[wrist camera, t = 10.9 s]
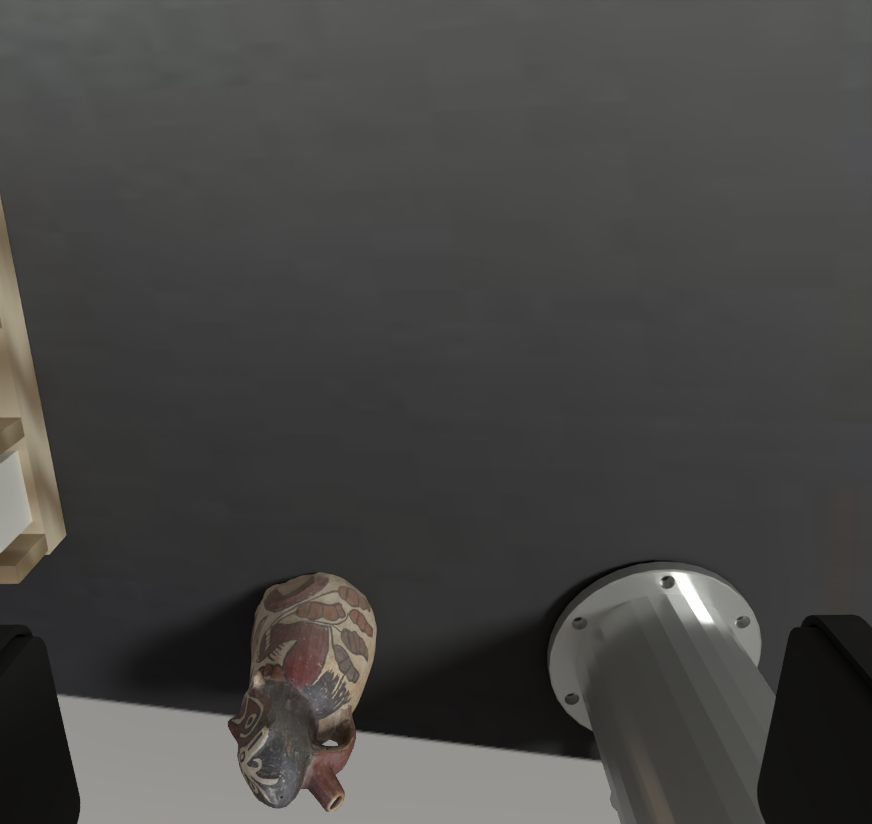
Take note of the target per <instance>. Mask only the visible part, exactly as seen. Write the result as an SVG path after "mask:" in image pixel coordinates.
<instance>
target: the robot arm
mask: <svg viewBox="0 0 872 824" xmlns="http://www.w3.org/2000/svg"><path fill="white" fill-rule="evenodd" d="M760 653H761V636H760V629H759V625H758V623H757V620H756V618H755V615H754V613H753V611H752V609H751V608H750V606H749V605H748V603H747V602H746V601H745V599H744V598H743V596H742V595H741V594H740V593H739V592H738V591H737V590H736V589H735V588H734V586H733V585H732V584H731V583H729V582H728V581H726V580H725V579H723V578H722V577H720V576H719V575H717V574H716V573H713V572H711V571H709V570H706V569H704V568H701V567H699V566H695V565H690V564H685V563H680V562H651V563H644V564H637V565H634V566H630V567H627V568H623V569H620V570H617V571H615V572H613V573H611V574H609V575H607V576H604V577H602V578H600V579H598V580H597V581H595V582H594V583H593V584H591V585H590V586H588V587H587V588H585V589H584V590H582V591H581V592H580V593H579V594H578V595H577V596H576V597H575V598H574V599H573V600H572V601H571V602H570V603H569V604H568V605H567V607H566V608H565V610H564V611H563V612H562V614H561V615H560V617H559V618H558V620H557V622H556V624H555V626H554V629H553V631H552V633H551V636H550V640H549V645H548V650H547V665H548V672H549V676H550V680H551V685H552V687H553V690H554V692H555V695H556V697H557V700H558V701H559V702H560V704H561V705H562V707H563V708H564V709H565V711H566V712H567V713H568V714H569V715H570V716H571V717H572V718H573V719H574V720H576V721H577V722H578V723H579V724H580V725H582V726H584V727H586V728H587V729H589V730H591V731H593V733H594V736H595V740H596V743H597V746H598V750H599V753H600V756H601V760H602V763H603V766H604V770H605V773H606V776H607V780H608V783H609V786H610V789H611V797H610V801H611V804H612V806H613V808H615V810H616V811H617V812H618V816H619V819H620V823H621V824H872V627H871V626H870V625H869V624H868V623H867V622H866V621H865V620H863V619H862V618H861V617H860V616H856V615H811V616H808V617H806V618H805V620H804V621H803V622H802V625H801V627H796V628H793V629H792V631H791V632H790V635H789V638H788V642H787V647H786V652H785V656H784V661H783V666H782V671H781V675H780V680H779V685H778V690H777V694H776V696H775V695H774V693H773V692H772V690H771V689H770V687H769V686H768V684H767V683H766V681H765V679H764V678H763V676H762V675H761V673H760V672H759V670H758V669H757V667H758V664H759V661H760ZM79 813H80V796H79V791H78V787H77V782H76V778H75V773H74V769H73V765H72V760H71V756H70V751H69V747H68V742H67V739H66V734H65V730H64V725H63V721H62V716H61V712H60V707H59V703H58V698H57V694H56V689H55V685H54V680H53V676H52V672H51V667H50V663H49V658H48V654H47V649H46V646H45V643H44V641H43V640H42V639H41V638H40V637H33V635H32V633H31V631H30V629H29V628H28V627H27V626H24V625H0V824H77V822H78V818H79Z"/></svg>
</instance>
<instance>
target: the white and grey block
mask: <svg viewBox="0 0 872 824" xmlns="http://www.w3.org/2000/svg"><path fill="white" fill-rule="evenodd" d="M31 522H32V517H31V512H30V507H29V502H28V498H27V493H26V488H25V484H24V479H23V474H22V470H21V465H20V460H19V456H18V451H17V450H6V451H5V452H4V453H2V454H1V455H0V553H1V552H2V551H3V550H4V549H5V548H6V547H7V546H8V545H9V544H10V543H11V542H12V541H13V540H14V539H15V538H16V537H17V536H18V535H19V534H20V533H21V532H22V531H23V530H24V529H25V528H26V527H27V526H28V525H29V524H30V523H31Z"/></svg>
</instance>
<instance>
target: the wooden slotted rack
mask: <svg viewBox="0 0 872 824" xmlns="http://www.w3.org/2000/svg"><path fill="white" fill-rule="evenodd" d="M6 450H17V451H18V456H19V460H20V465H21V470H22V474H23V479H24V484H25V488H26V493H27V498H28V502H29V507H30V512H31V517H32V522H31V523H30V524H29V525H28V526H27V527H26V528H25V529H24V530H23V531H22V532H21V533H20V534H19V535H18V536H17V537H16V538H15V539H14V540H13V541H12V542H11V543H10V544H9V545H8V546H7V547H6V548H5V549H4V550H3V551H2V552H1V553H0V584H19V583H20V582H21V581H22V580H23V579H24V577H25V576H26V575H27V574H28V573H29V572H30V571H31V570H32V568H33V567H34V566H35V565H36V564H37V563H38V562H39V561H40V559H41V558H42V557H43V556H44V555H49V554H50V553H51V552H52V551H53V550H54V549H55V547H56V546H57V545H58V544H59V543H60V542H61V541H62V539H63V538H64V537H65V536H66V530H65V525H64V520H63V515H62V510H61V505H60V500H59V494H58V489H57V484H56V479H55V474H54V469H53V464H52V459H51V453H50V448H49V443H48V438H47V433H46V428H45V423H44V418H43V412H42V407H41V402H40V397H39V392H38V387H37V382H36V377H35V372H34V366H33V361H32V356H31V351H30V346H29V341H28V336H27V331H26V325H25V320H24V315H23V310H22V305H21V300H20V295H19V290H18V284H17V279H16V274H15V269H14V264H13V259H12V254H11V249H10V243H9V238H8V233H7V228H6V223H5V218H4V213H3V208H2V202H1V197H0V455H1V454H2V453H4V452H5V451H6Z"/></svg>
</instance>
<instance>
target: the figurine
mask: <svg viewBox="0 0 872 824" xmlns="http://www.w3.org/2000/svg"><path fill="white" fill-rule="evenodd" d="M376 633H377V629H376V623H375V618H374V614H373V611H372V608H371V607H370V605H369V603H368V601H367V599H366V597H365V595H364V594H362V593H361V592H360V591H359V590H358V589H356V588H355V587H354V586H353V585H351V584H350V583H349V582H347V581H346V580H345V579H343V578H341V577H338V576H335V575H332V574H327V573H321V572H318V573H315V574H311V575H302V576H299V577H297V578H294V579H291V580H289V581H287V582H286V583H281V584H276V585H273V586H272V587H270V588H268V589H267V590H266V592H265V593H264V597H263V599H262V601H261V603H260V605H259V606H258V607H257V610H256V612H255V621H254V625H253V629H252V636H251V658H252V661H251V670H250V680H249V689H248V691H247V692H246V694H245V695H244V697H243V699H242V702H241V709H240V712H239V714H238V715H236V716H235V717H233V718H231V719H230V720H229V721H228V727H229V730H230V731H231V733H232V735H233V736H234V738H235V739H236V741H237V743H238V755H237V757H238V761H239V766H240V769H241V772H242V774H243V776H244V778H245V780H246V782H247V784H248V785H249V787H250V789H251V790H252V792H253V794H254V795H255V797H256V798H257V799H258V800H259V801H261V802H263V803H264V804H266V805H268V806H270V807H272V808H283V807H286V806H287V805H288V804H289V803H290V802H291V801H293V799H294V798H295V797H296V796H297V794H298V792H299V790H300V789H308V790H309V791H310V792H311V793H312V794H313V795H314V797H315V798H316V799H317V800H318V801H319V802H320V804H321V805H322V807H323V808H324V809H325V810H326V811H327V812H331V811H334V810H336V809H338V808H339V807H340V806H341V804H342V802H343V800H344V790H343V788H342V786H341V784H340V783H339V781H338V779H337V777H336V774H337V773H338V772H339V771H341V770H342V769H343V767H344V766H345V764H346V763H347V761H348V758H349V756H350V754H351V752H352V749H353V747H354V743H355V739H356V729H355V725H354V722H353V718H352V712H353V711H354V709H355V708H356V706H357V704H358V702H359V700H360V697H361V695H362V692H363V689H364V687H365V684H366V681H367V678H368V675H369V672H370V669H371V666H372V663H373V659H374V654H375V643H376ZM328 740H333V741H335V742H337V743H338V746H324V745H322V744H323V743H325V742H326V741H328Z"/></svg>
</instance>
